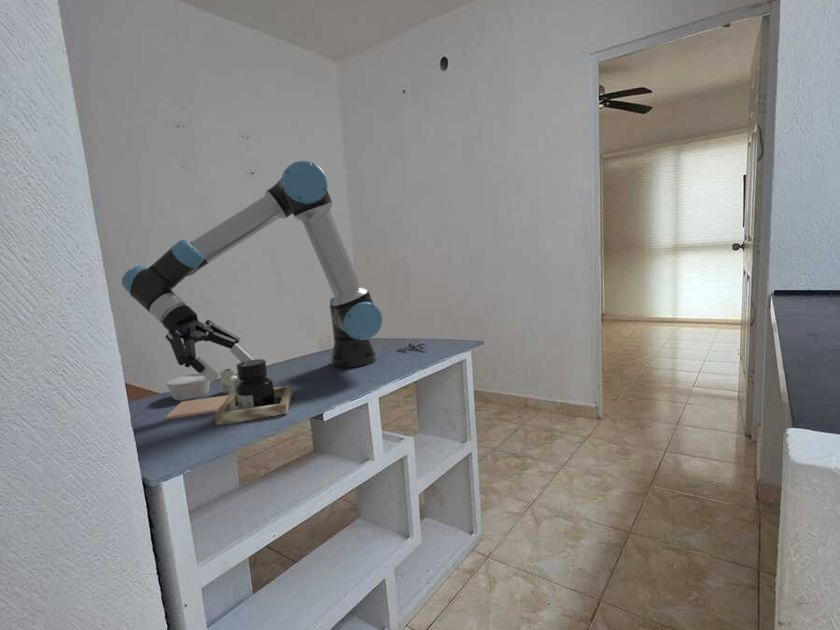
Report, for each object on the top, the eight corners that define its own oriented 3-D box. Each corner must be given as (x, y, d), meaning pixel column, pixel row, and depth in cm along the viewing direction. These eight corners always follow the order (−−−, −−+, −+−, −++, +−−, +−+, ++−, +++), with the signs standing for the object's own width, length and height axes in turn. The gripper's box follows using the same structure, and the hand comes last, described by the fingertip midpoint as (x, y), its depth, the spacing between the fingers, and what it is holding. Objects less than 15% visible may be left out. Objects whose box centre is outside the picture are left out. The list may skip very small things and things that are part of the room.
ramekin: (216, 387, 133) (213, 370, 132) (207, 398, 122) (204, 380, 122) (177, 392, 131) (174, 376, 130) (163, 405, 120) (160, 386, 119)
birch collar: (293, 393, 119) (291, 385, 119) (287, 414, 104) (285, 404, 104) (231, 402, 117) (230, 393, 116) (216, 425, 101) (214, 415, 101)
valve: (227, 396, 123) (267, 384, 132) (223, 373, 122) (264, 363, 131) (218, 392, 128) (257, 380, 136) (214, 370, 127) (254, 360, 135)
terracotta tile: (227, 397, 122) (227, 395, 122) (216, 412, 110) (216, 410, 110) (181, 403, 120) (181, 401, 119) (165, 419, 108) (165, 417, 108)
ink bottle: (235, 408, 112) (228, 363, 110) (270, 399, 117) (264, 356, 115) (243, 418, 104) (236, 370, 102) (280, 408, 109) (274, 362, 107)
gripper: (202, 316, 124) (256, 367, 122) (124, 335, 100) (189, 398, 98) (215, 297, 122) (270, 348, 120) (139, 311, 98) (205, 375, 96)
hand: (234, 370), depth 109 cm, fingers open, 13 cm apart
